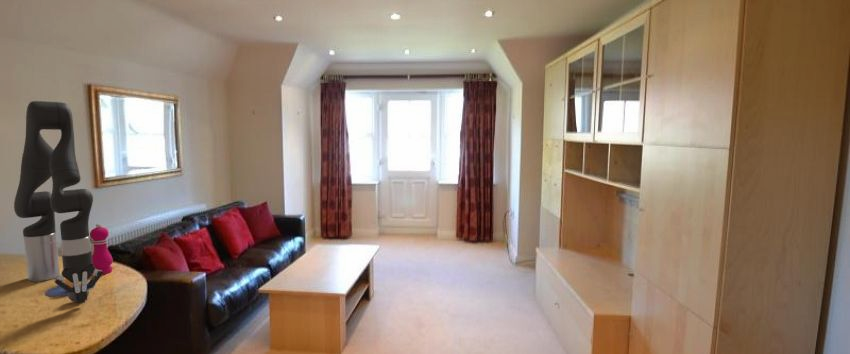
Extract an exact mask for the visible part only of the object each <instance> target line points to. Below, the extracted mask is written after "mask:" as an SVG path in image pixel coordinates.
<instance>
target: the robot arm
mask: <svg viewBox="0 0 850 354" xmlns="http://www.w3.org/2000/svg"><path fill="white" fill-rule="evenodd" d="M43 130H52V131H54V130H55V131H57V130H58V131H59V130H60V133H61V134H60V139H59V141H58V143H57V144H56V146H55V147H54V148H52V146H50V144H49V143H48V142H47V141H46V140H45V139H44V138H43V136H42V134H41V131H43ZM74 131H75V130H74V120H73V114H72V110H71V108H70V106H69V104H67V103H66V102H61V101H43V100H33V101H30V102H29V103H28V105H27V107H26V116H25V139H24V145H23V150H22V151H23V152H22V157H21V162H20V175H19V182H18V187H17V191H16V194H15V197H14V203H13V208H14V209H13V210H14V213H15V215H16V216H17V217H18V218H20V219H30V218H38V217H40V219H38V220H37V221H35V222H34V223H32V224H30V225H28V226H25V227H24V228H23V229H22V234H23V236H22V237H23V244H24V254H25V261H26V272H27V281H29V282H35V283H36V282H44V281H49V280H53V279H54V280H53V281H54V283H55V284H56V286H60V287H62V288H63V289H65V290H66V291H68V292H69V293H71V292H74V293H75V298H76V301H77V302H76V303H79V304H83V303H84V304H85V303H86V301H87V300H88V297H87V290H88V289H90V288H92V289H94V287H93V286H94V285H95V286H96V283H98V281H99V280H100V278H101V277H102V274H103V272H102V271H101V270H97V269H95V267H94V265H93V261H92V255H93V253H92V252H93V251H92V249H93V248H92V247H93V246H92V240H91V237H90V230H89V229H90V228H89V219H90V214H91V210H92V208H93V207H92V206H93V202H94V196H93V194H92V192H91V190H89V189H86V188H79V189H78V188H77V189H69V190H64V189H66V188H69V187H72V186H75V185H77V184H79V183H80V182H81V174H80V170H79V166H78V162H77V161H78V160H77V157H76V147H75V146H76V145H75V133H74ZM50 179H51V180H52V190H51V192H50V191H47V190H46V191H36V190H37V189H38V188H40V187H42V185H44V184H45V183H47V181H48V180H50ZM75 212H78V213H77V215H76V216H74V217H70V218H68V219H65V220H62V221H61V222H60V224H59V228H60V238H61V239H60V240H61V243H60V249H61V261H62V271H60V263H59V262H60V261H59V260H60V259H59V252H58V242H57V233H56V231H57V230H56V219H55V218H56V216H55V215H56V214H55V213H57V214H66V213H67V214H68V213H75ZM60 272H61V273H60ZM93 272H94V273H93ZM92 275H93V276H92ZM103 275H104V274H103ZM91 276H92V278H91ZM90 278H91V279H90ZM64 279H67V280H69V281H70V282H72V283H73V286H74V287H70V286H68V285H67V284H66V283H64V282H65V280H64ZM89 279H90V280H89ZM88 280H89V283H88V284H87V281H88ZM79 282H81V291H80V287H79ZM90 290H91V289H90Z"/></svg>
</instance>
